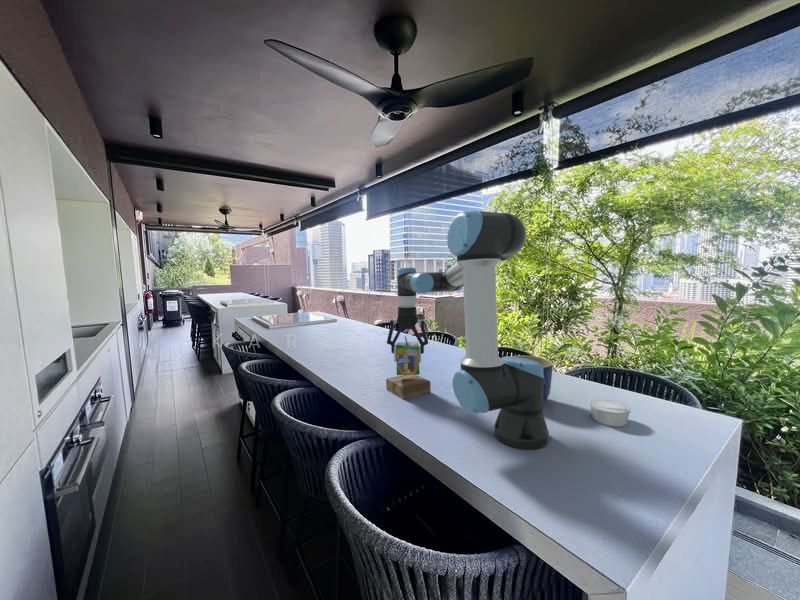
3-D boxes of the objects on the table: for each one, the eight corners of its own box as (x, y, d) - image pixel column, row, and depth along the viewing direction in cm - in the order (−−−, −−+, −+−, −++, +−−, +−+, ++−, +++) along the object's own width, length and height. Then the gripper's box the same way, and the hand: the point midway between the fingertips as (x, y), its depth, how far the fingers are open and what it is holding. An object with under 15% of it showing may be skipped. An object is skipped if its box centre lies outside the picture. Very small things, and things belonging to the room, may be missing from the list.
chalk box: (419, 375, 135) (419, 338, 134) (396, 375, 135) (395, 338, 134) (418, 368, 144) (418, 334, 143) (397, 368, 145) (396, 334, 143)
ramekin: (609, 431, 104) (610, 414, 103) (581, 416, 115) (581, 400, 114) (638, 426, 107) (639, 409, 106) (608, 412, 118) (608, 397, 117)
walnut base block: (430, 393, 138) (430, 381, 138) (403, 400, 132) (403, 387, 131) (412, 384, 149) (412, 373, 149) (386, 390, 143) (386, 378, 142)
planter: (499, 405, 124) (499, 364, 123) (508, 390, 139) (508, 353, 138) (550, 413, 117) (551, 369, 115) (553, 397, 132) (554, 358, 130)
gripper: (434, 305, 140) (435, 359, 142) (381, 305, 143) (382, 358, 144) (434, 307, 132) (434, 364, 134) (378, 307, 135) (379, 363, 137)
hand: (407, 361), depth 139 cm, fingers closed on chalk box, 9 cm apart
